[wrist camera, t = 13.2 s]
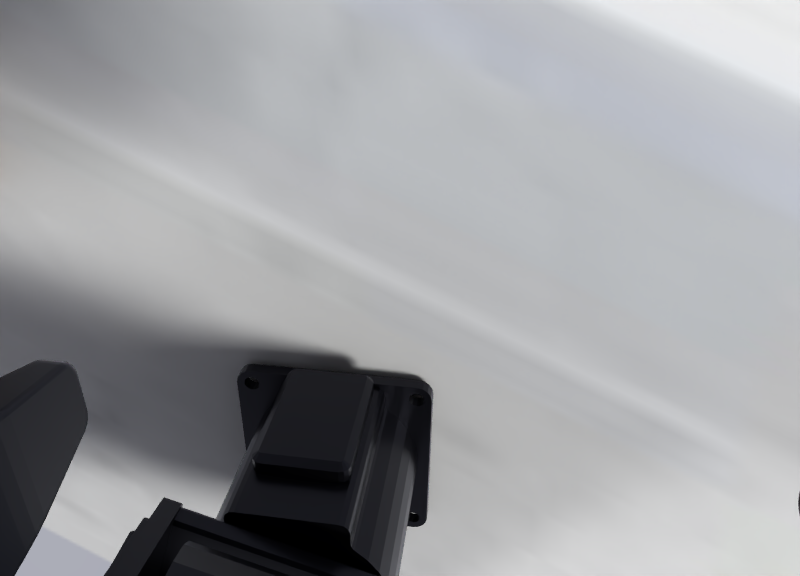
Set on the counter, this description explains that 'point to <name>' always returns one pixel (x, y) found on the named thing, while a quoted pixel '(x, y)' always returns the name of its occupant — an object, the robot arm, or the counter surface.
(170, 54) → the counter surface
